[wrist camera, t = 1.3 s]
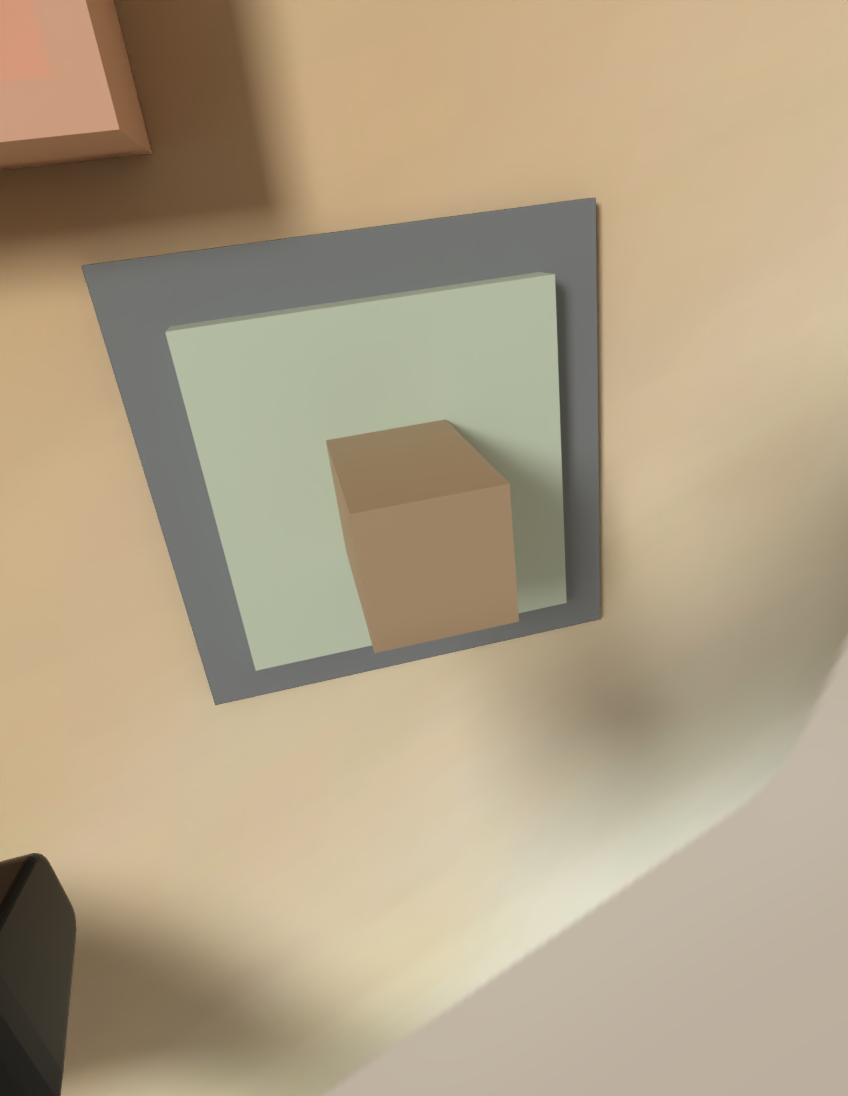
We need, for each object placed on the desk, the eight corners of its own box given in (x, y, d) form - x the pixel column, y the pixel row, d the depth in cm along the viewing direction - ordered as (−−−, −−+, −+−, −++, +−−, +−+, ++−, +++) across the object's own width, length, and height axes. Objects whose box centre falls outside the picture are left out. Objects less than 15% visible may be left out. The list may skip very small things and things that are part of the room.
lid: (553, 587, 21) (652, 706, 16) (255, 651, 20) (255, 803, 15) (540, 271, 18) (663, 289, 12) (170, 326, 16) (127, 372, 11)
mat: (594, 613, 23) (600, 619, 22) (216, 697, 21) (215, 705, 21) (588, 198, 17) (595, 197, 17) (85, 265, 16) (81, 266, 15)
